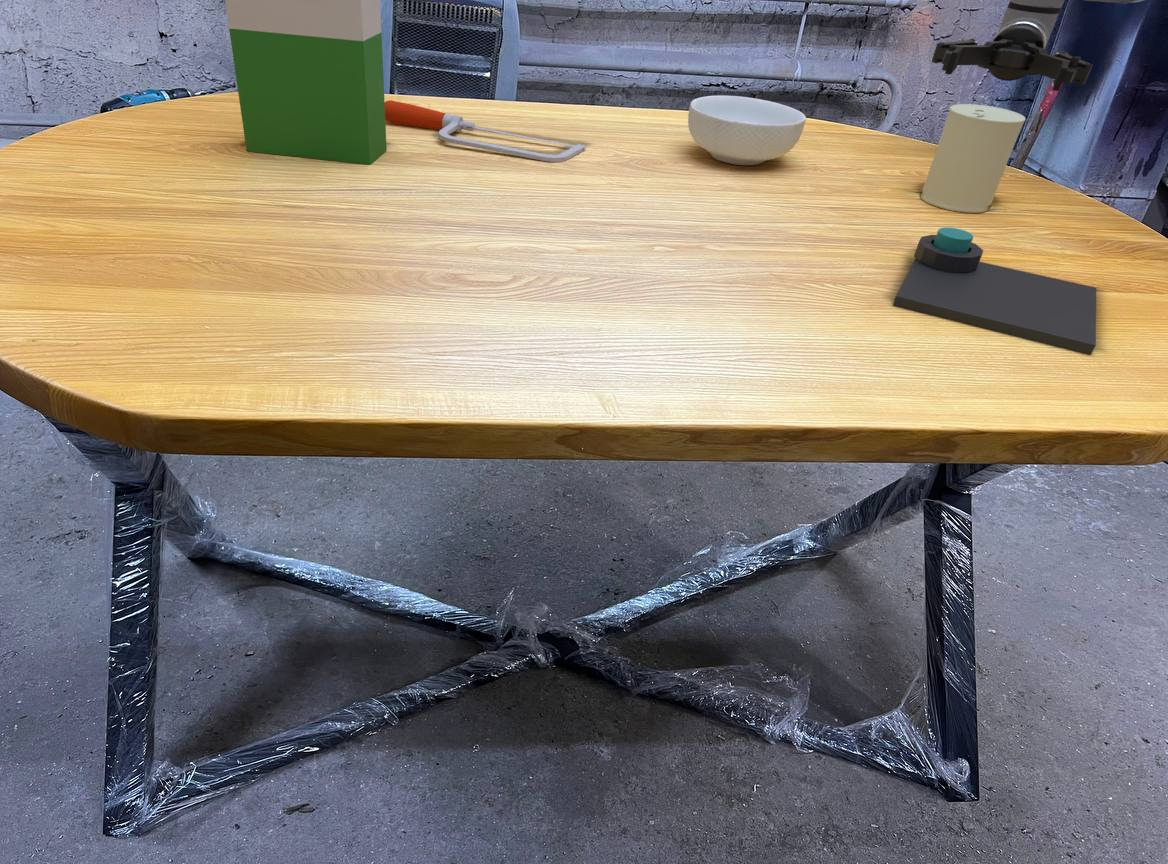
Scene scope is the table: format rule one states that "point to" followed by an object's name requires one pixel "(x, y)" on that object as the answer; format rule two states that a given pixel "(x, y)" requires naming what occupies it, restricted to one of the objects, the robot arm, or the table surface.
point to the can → (971, 157)
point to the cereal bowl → (744, 128)
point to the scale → (999, 298)
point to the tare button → (953, 240)
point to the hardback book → (310, 77)
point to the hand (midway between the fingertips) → (1004, 71)
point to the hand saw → (454, 123)
